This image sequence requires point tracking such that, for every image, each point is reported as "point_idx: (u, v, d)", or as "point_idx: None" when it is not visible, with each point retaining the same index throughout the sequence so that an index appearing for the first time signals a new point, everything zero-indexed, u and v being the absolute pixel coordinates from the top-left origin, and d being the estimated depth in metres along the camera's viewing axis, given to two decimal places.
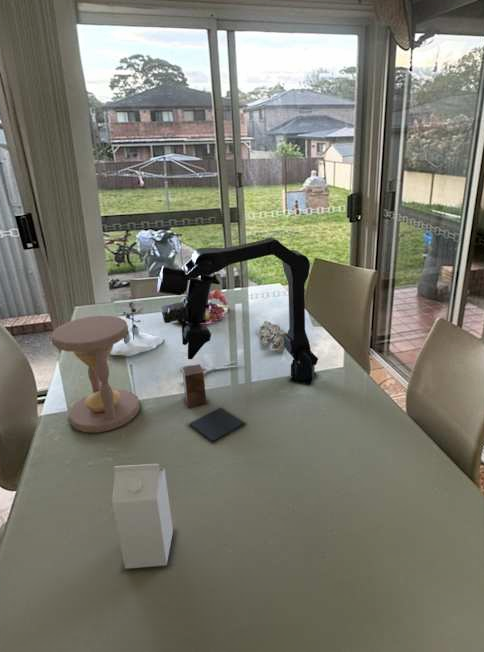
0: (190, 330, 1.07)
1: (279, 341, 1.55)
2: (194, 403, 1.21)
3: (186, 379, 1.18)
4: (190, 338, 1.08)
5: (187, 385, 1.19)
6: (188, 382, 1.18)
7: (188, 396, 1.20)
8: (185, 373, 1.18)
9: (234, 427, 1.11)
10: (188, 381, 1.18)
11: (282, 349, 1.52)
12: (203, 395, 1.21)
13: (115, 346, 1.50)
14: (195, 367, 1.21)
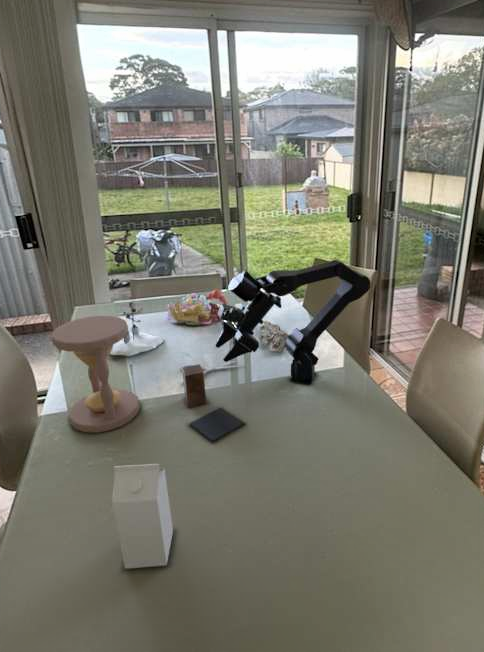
0: (245, 335, 1.13)
1: (279, 341, 1.55)
2: (194, 403, 1.21)
3: (186, 379, 1.18)
4: (242, 342, 1.12)
5: (187, 385, 1.19)
6: (188, 382, 1.18)
7: (188, 396, 1.20)
8: (185, 373, 1.18)
9: (234, 427, 1.11)
10: (188, 381, 1.18)
11: (282, 349, 1.52)
12: (203, 395, 1.21)
13: (115, 346, 1.50)
14: (195, 367, 1.21)
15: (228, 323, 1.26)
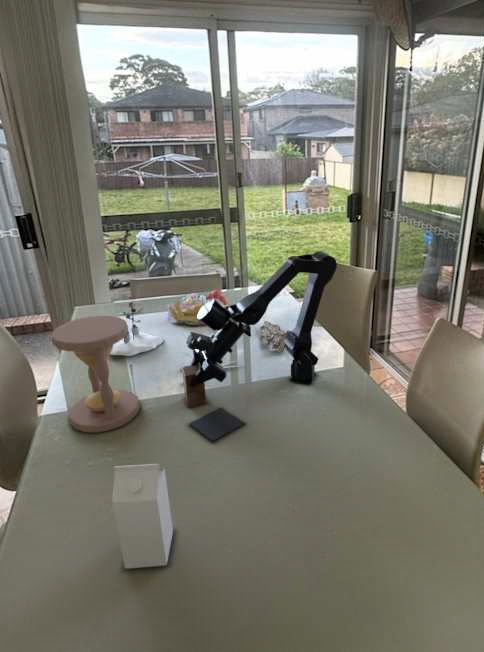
0: (212, 366, 1.12)
1: (279, 341, 1.55)
2: (194, 403, 1.21)
3: (186, 379, 1.18)
4: (208, 372, 1.12)
5: (187, 385, 1.18)
6: (188, 382, 1.18)
7: (188, 396, 1.20)
8: (185, 373, 1.18)
9: (234, 427, 1.11)
10: (188, 381, 1.18)
11: (282, 349, 1.52)
12: (203, 395, 1.21)
13: (115, 346, 1.50)
14: (195, 367, 1.21)
15: (199, 353, 1.23)
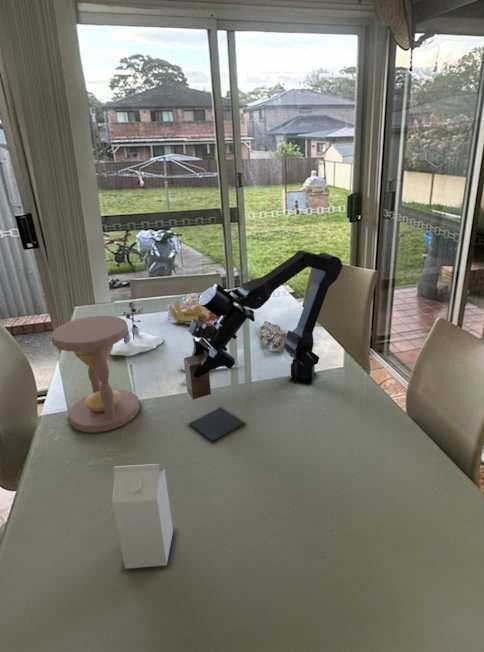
0: (221, 352, 1.07)
1: (279, 341, 1.55)
2: (199, 394, 1.15)
3: (191, 369, 1.12)
4: (217, 359, 1.07)
5: (192, 376, 1.13)
6: (193, 372, 1.12)
7: (193, 387, 1.14)
8: (189, 363, 1.12)
9: (234, 427, 1.11)
10: (193, 371, 1.12)
11: (282, 349, 1.52)
12: (208, 385, 1.16)
13: (115, 346, 1.50)
14: (198, 357, 1.16)
15: (200, 342, 1.18)
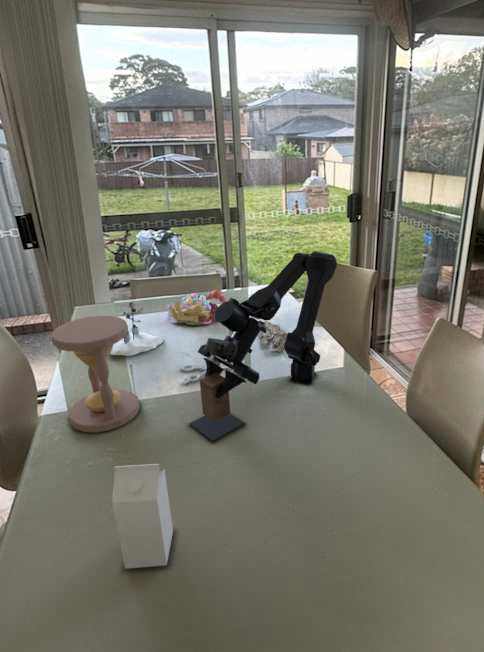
0: (248, 368, 1.03)
1: (279, 341, 1.55)
2: (220, 415, 1.10)
3: (213, 390, 1.06)
4: (245, 376, 1.03)
5: (213, 397, 1.07)
6: (214, 393, 1.07)
7: (214, 409, 1.08)
8: (209, 384, 1.06)
9: (234, 427, 1.11)
10: (214, 392, 1.07)
11: (282, 349, 1.52)
12: (228, 404, 1.11)
13: (115, 346, 1.50)
14: (214, 376, 1.10)
15: (213, 360, 1.12)
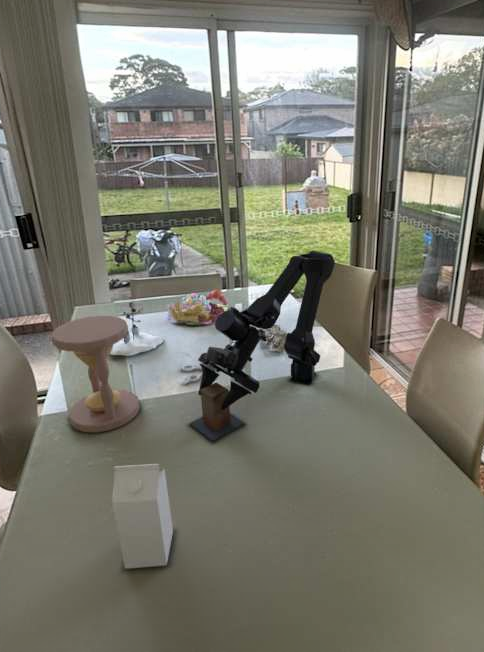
0: (248, 377, 1.04)
1: (279, 341, 1.55)
2: (220, 425, 1.11)
3: (213, 401, 1.07)
4: (246, 385, 1.04)
5: (214, 407, 1.08)
6: (215, 403, 1.08)
7: (215, 419, 1.09)
8: (210, 394, 1.07)
9: (234, 427, 1.11)
10: (215, 402, 1.08)
11: (282, 349, 1.52)
12: (228, 414, 1.12)
13: (115, 346, 1.50)
14: (215, 386, 1.11)
15: (209, 366, 1.14)
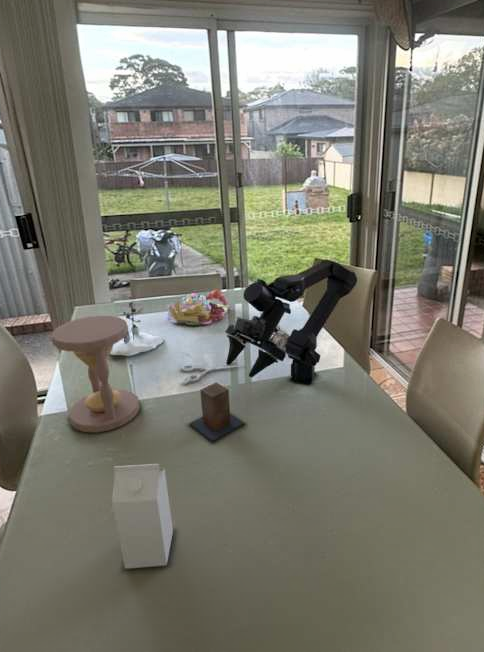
0: (276, 345, 1.09)
1: (279, 341, 1.55)
2: (220, 425, 1.11)
3: (213, 401, 1.07)
4: (273, 353, 1.08)
5: (214, 407, 1.08)
6: (215, 403, 1.08)
7: (215, 419, 1.09)
8: (210, 394, 1.07)
9: (234, 427, 1.11)
10: (215, 402, 1.08)
11: None
12: (228, 414, 1.12)
13: (115, 346, 1.50)
14: (215, 386, 1.11)
15: (236, 337, 1.18)
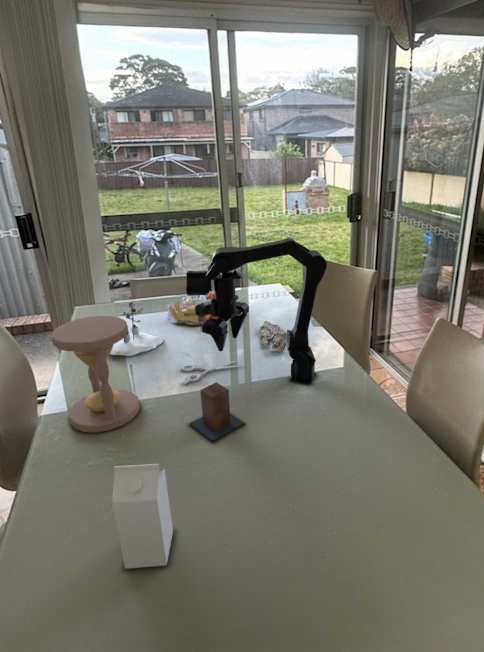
0: (203, 324, 1.17)
1: (279, 341, 1.55)
2: (220, 425, 1.11)
3: (213, 401, 1.07)
4: (203, 331, 1.18)
5: (214, 407, 1.08)
6: (215, 403, 1.08)
7: (215, 419, 1.09)
8: (210, 394, 1.07)
9: (234, 427, 1.11)
10: (215, 402, 1.08)
11: (282, 349, 1.52)
12: (228, 414, 1.12)
13: (115, 346, 1.50)
14: (215, 386, 1.11)
15: None
